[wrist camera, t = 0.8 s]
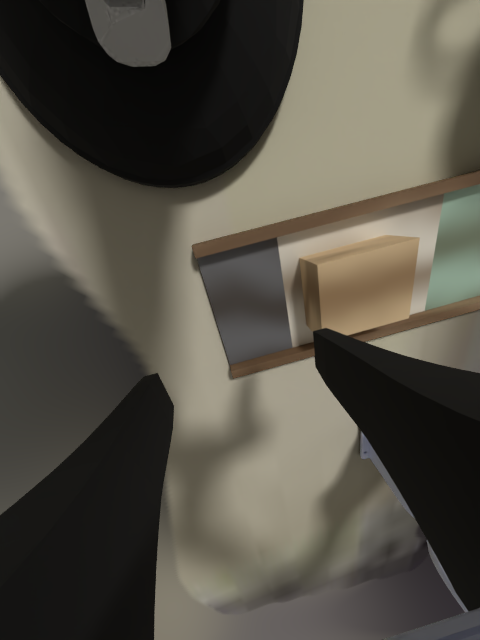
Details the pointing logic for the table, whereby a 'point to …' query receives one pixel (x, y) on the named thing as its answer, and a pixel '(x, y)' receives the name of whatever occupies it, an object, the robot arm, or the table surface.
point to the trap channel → (332, 232)
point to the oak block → (359, 284)
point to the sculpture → (152, 79)
